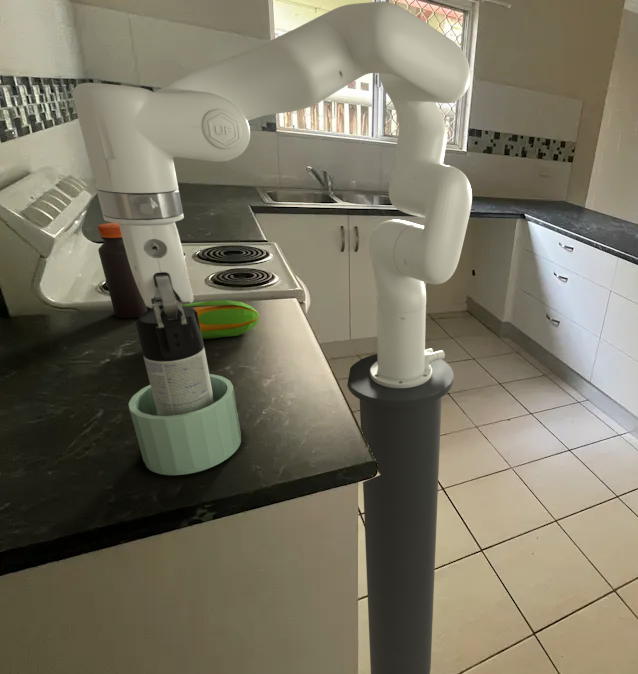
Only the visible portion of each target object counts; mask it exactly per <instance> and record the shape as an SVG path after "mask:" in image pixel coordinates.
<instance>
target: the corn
mask: <svg viewBox="0 0 638 674" xmlns="http://www.w3.org/2000/svg"><path fill="white" fill-rule="evenodd" d="M182 306H185V307H192V308H193V309H195V310H196V311H197V315H198V319H199V325H200V330H201V334H202V339H203V340H210V339H217V338H218V339H220V338H230V337H236V336H237V337H238V336H241V335H243V334H245V333H247V332H249V331H251V330H252V329H253V328H254V327H255V326H257V324H258V322H259V320H260V319H259V318H260V316H259V312H258V311H257V310H256V309H255V308H254V307H253V306H251V305H249V304H247V303H245V302H242V301H240V300H239V301H237V300H227V299H222V300H221V299H219V300H211V301H198V302H197V301H196V302H192V303H190V304H188V303H184V304H182Z"/></svg>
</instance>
